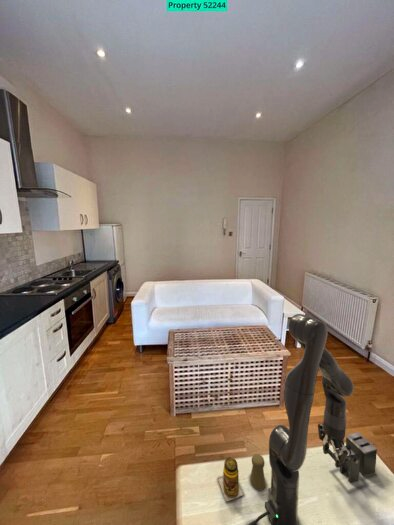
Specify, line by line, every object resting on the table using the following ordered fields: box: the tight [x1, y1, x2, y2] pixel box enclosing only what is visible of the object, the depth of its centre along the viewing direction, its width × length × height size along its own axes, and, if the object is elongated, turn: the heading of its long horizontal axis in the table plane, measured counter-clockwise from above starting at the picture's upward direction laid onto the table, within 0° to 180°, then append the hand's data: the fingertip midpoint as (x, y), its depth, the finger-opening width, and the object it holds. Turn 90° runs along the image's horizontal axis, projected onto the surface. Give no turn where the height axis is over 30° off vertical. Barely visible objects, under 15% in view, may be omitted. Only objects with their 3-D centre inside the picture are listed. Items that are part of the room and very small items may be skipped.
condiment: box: [217, 456, 244, 502], centre depth 89 cm, size 7×8×12 cm
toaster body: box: [345, 431, 378, 477], centre depth 96 cm, size 7×8×12 cm
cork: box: [249, 453, 266, 490], centre depth 91 cm, size 6×6×11 cm
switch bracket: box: [339, 444, 360, 485], centre depth 91 cm, size 10×8×13 cm
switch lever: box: [326, 447, 355, 462], centre depth 90 cm, size 12×5×2 cm, turn 103°
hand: (331, 459), depth 89 cm, fingers closed on switch lever, 5 cm apart
